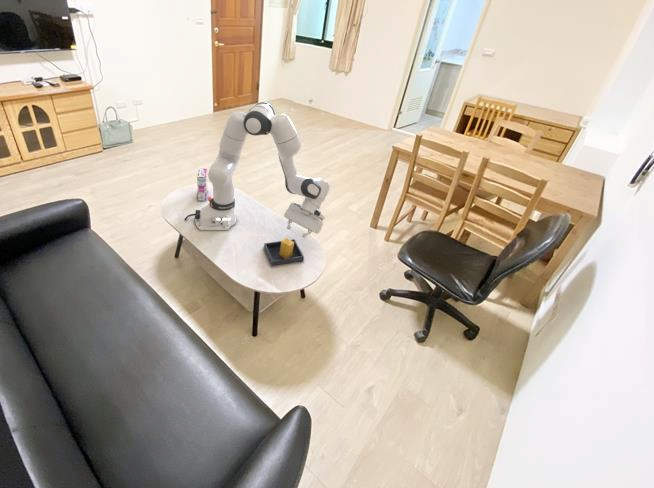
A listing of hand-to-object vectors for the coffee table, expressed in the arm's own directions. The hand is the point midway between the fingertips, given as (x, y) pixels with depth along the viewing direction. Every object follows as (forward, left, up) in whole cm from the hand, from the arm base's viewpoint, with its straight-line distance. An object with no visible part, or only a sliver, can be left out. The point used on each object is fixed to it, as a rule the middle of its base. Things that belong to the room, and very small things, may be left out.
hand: (295, 233), depth 165 cm
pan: (-6, -3, -11) cm, 13 cm away
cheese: (-5, -4, -10) cm, 12 cm away
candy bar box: (-38, +57, -11) cm, 70 cm away
